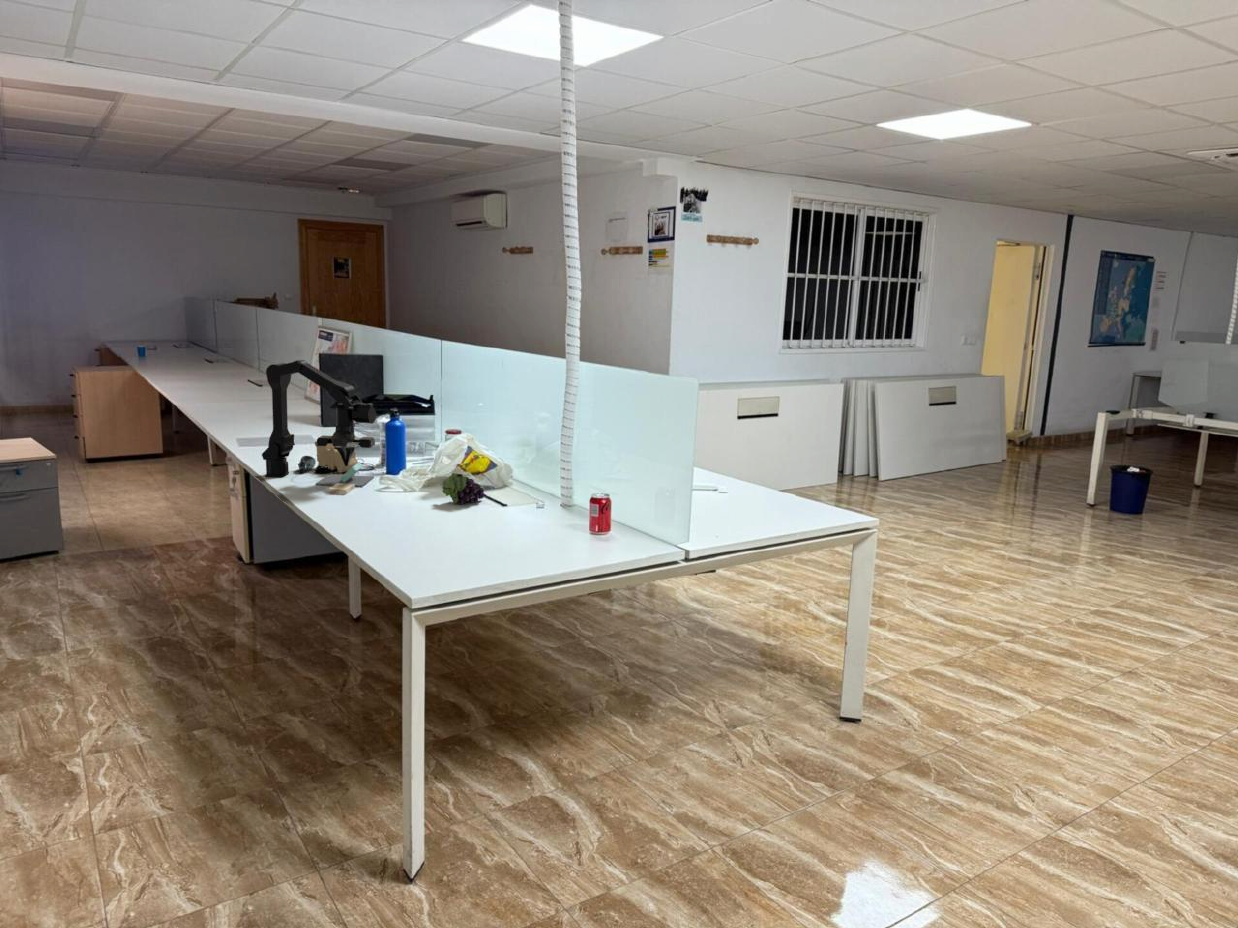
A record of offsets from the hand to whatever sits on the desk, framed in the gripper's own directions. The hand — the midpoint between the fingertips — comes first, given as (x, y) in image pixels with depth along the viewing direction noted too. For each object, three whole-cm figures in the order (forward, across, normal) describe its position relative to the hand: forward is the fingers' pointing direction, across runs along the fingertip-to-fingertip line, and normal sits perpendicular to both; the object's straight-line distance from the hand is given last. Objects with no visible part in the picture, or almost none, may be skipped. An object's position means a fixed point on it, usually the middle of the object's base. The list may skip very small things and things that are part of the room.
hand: (346, 465), depth 303 cm
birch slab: (+6, +2, -13) cm, 15 cm away
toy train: (+6, -10, +18) cm, 21 cm away
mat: (+6, -1, 0) cm, 6 cm away
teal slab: (+4, 0, 0) cm, 4 cm away
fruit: (+6, +45, -21) cm, 50 cm away
